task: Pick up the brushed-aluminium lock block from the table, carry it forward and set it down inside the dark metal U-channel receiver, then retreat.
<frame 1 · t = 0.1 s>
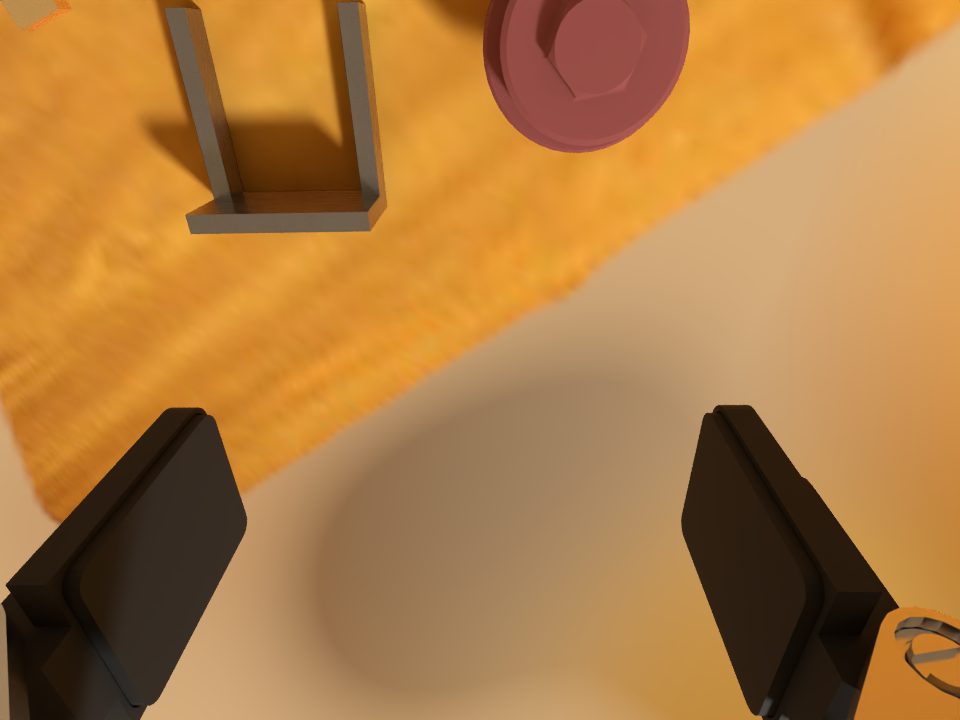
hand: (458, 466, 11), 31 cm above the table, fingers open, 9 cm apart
mechanical component: (566, 46, 34), on the table
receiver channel: (290, 106, 36), on the table
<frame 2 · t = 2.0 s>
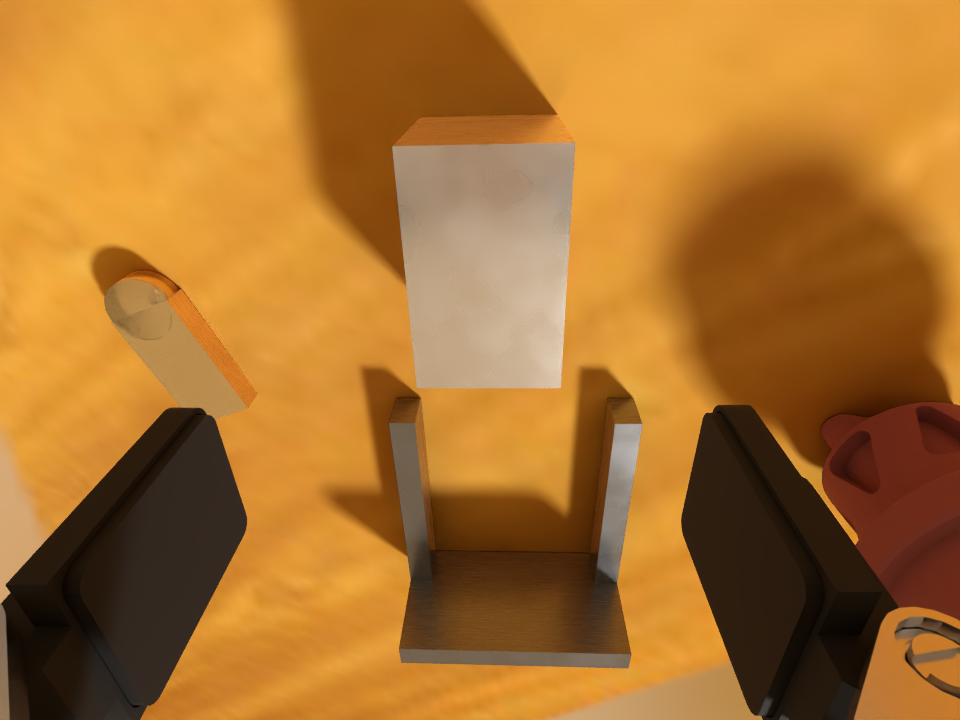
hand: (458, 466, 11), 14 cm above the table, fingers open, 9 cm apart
mechanical component: (879, 437, 27), on the table
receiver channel: (513, 482, 29), on the table
aluminium lock block: (490, 222, 22), on the table
brass key tag: (195, 353, 26), on the table
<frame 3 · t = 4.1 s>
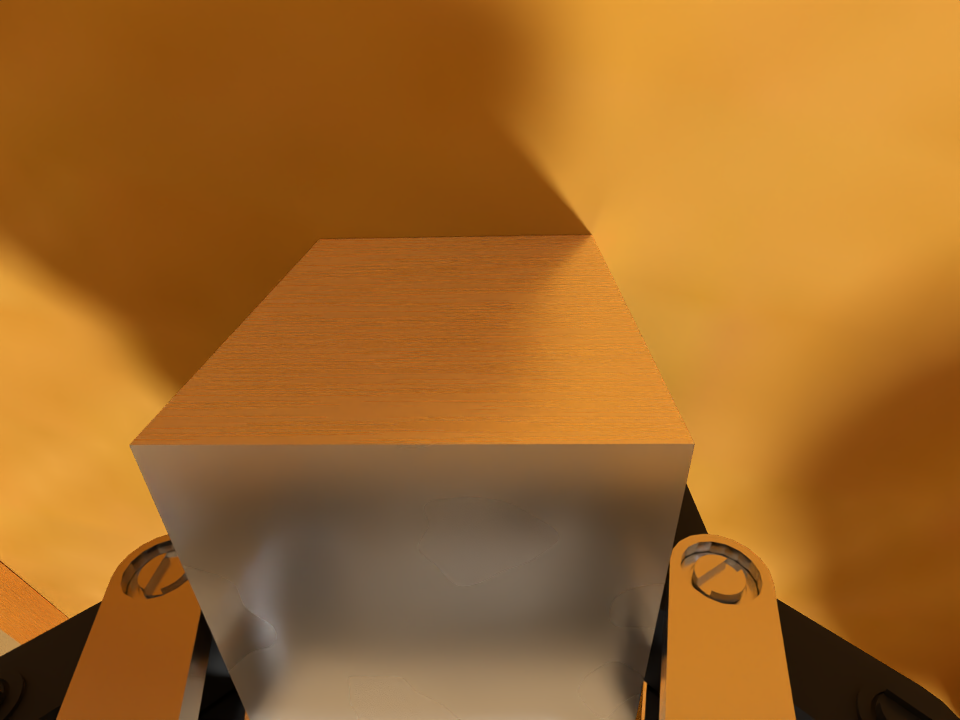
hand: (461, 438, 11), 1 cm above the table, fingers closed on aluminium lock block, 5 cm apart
aluminium lock block: (463, 415, 12), on the table, touching gripper
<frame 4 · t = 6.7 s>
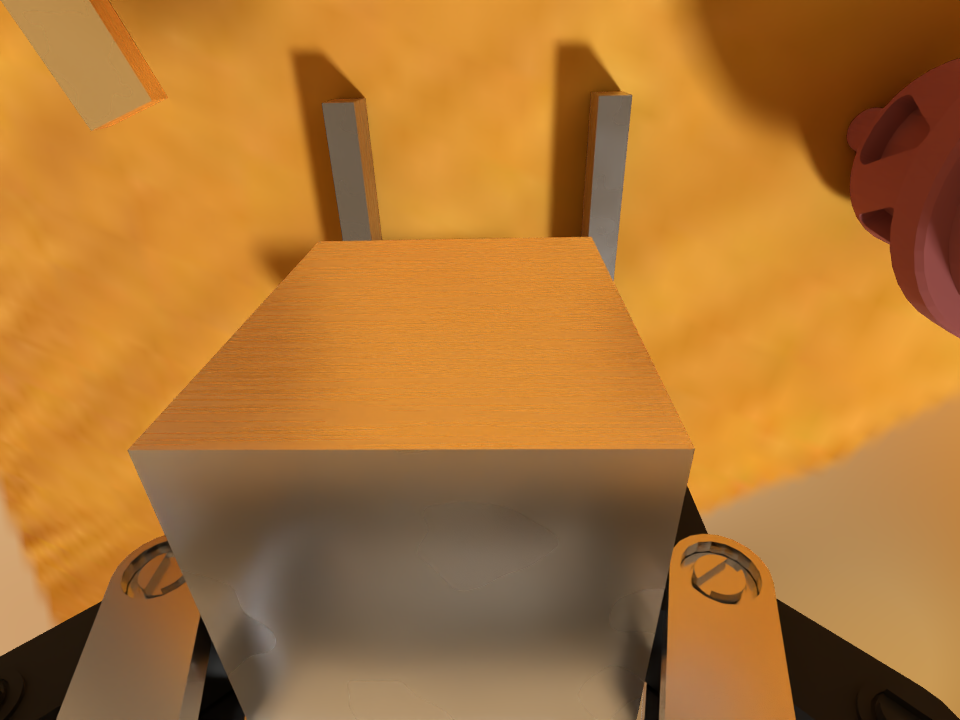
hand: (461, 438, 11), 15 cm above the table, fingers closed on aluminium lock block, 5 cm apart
mechanical component: (915, 150, 23), on the table
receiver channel: (480, 230, 25), on the table
aluminium lock block: (462, 417, 12), point 14 cm above the table, touching gripper
brass key tag: (87, 33, 21), on the table
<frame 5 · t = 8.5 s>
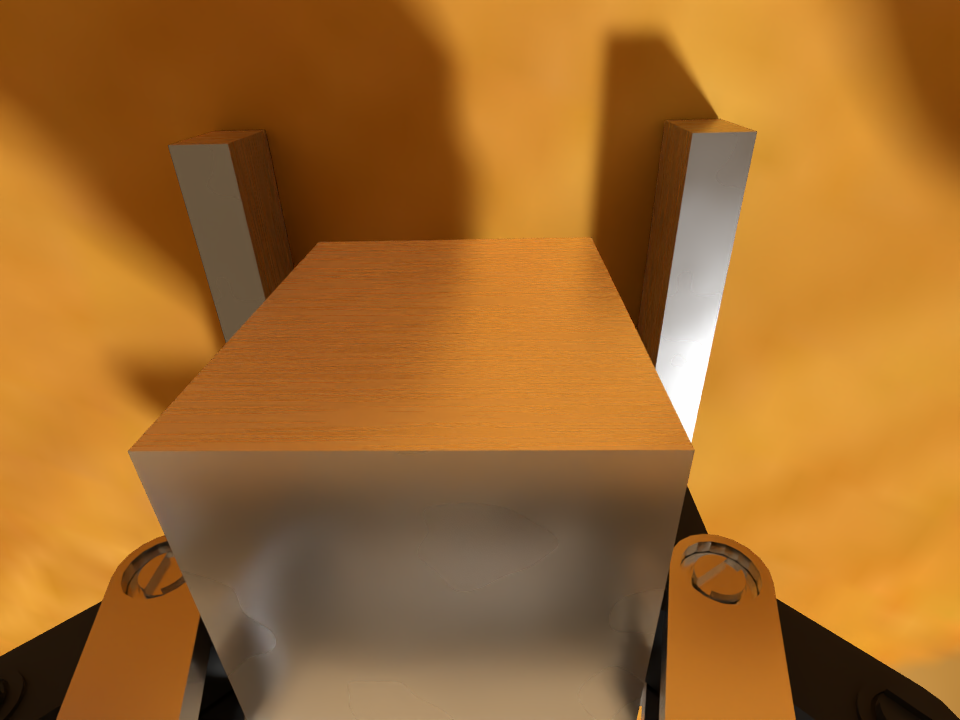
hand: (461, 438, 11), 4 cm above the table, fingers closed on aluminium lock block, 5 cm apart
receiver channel: (470, 341, 15), on the table
aluminium lock block: (462, 417, 12), point 4 cm above the table, touching gripper
when the fingers open (3 cm above the table, at t = 9.7 s): aluminium lock block drops 2 cm, on the table.
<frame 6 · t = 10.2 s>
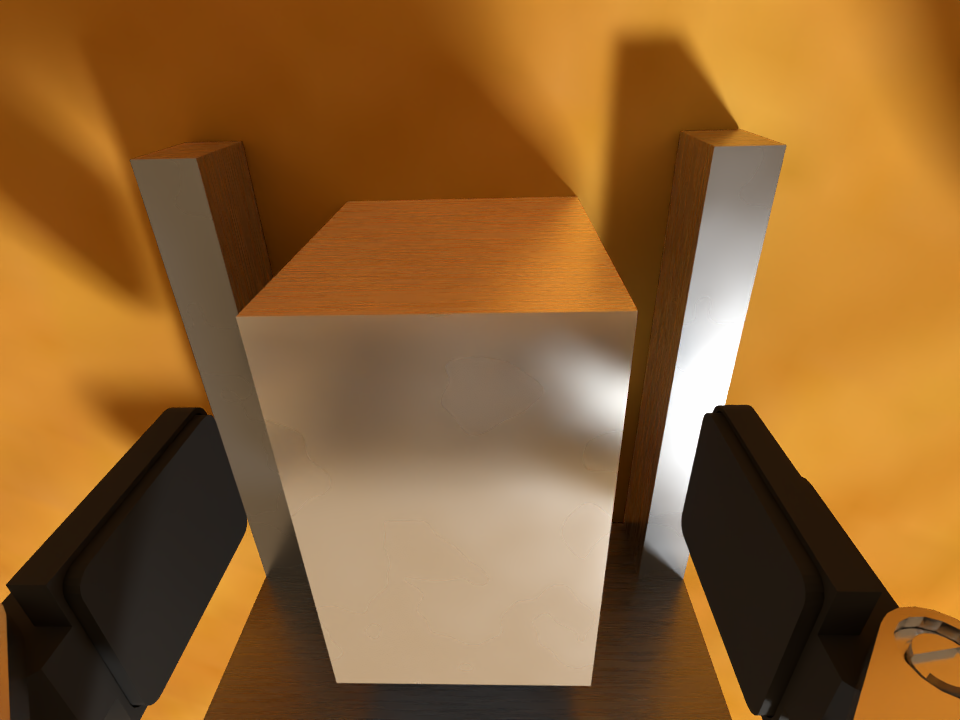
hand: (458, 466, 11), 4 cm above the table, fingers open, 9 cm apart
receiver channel: (467, 367, 14), on the table
aluminium lock block: (468, 356, 14), on the table
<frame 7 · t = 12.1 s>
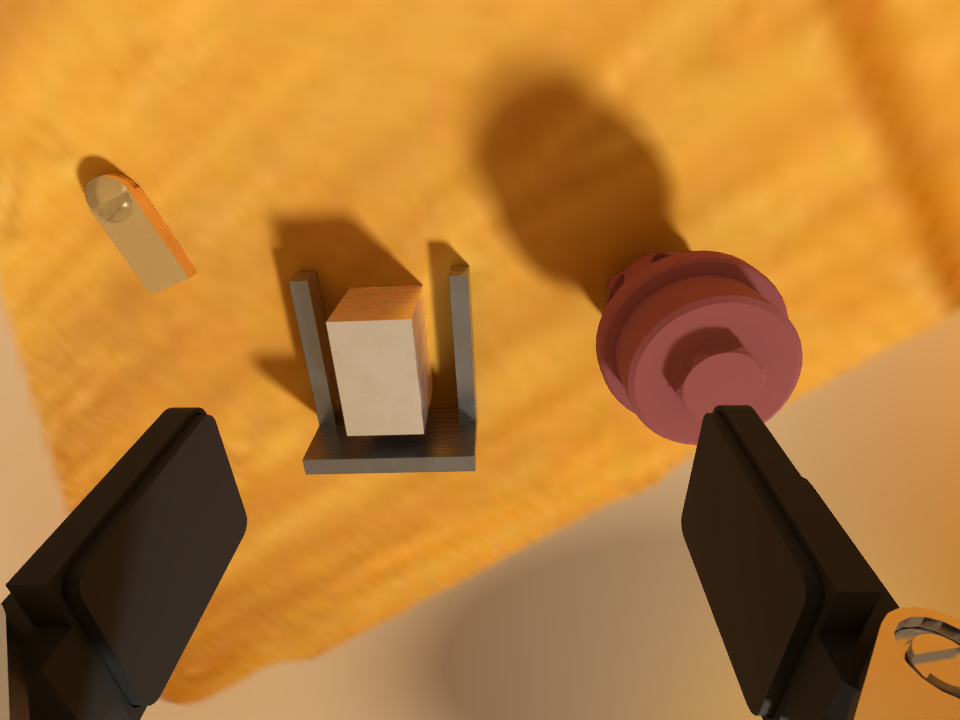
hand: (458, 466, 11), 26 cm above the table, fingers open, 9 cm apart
mechanical component: (653, 294, 37), on the table
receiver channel: (393, 343, 39), on the table
aluminium lock block: (393, 339, 39), on the table
brass key tag: (151, 239, 36), on the table
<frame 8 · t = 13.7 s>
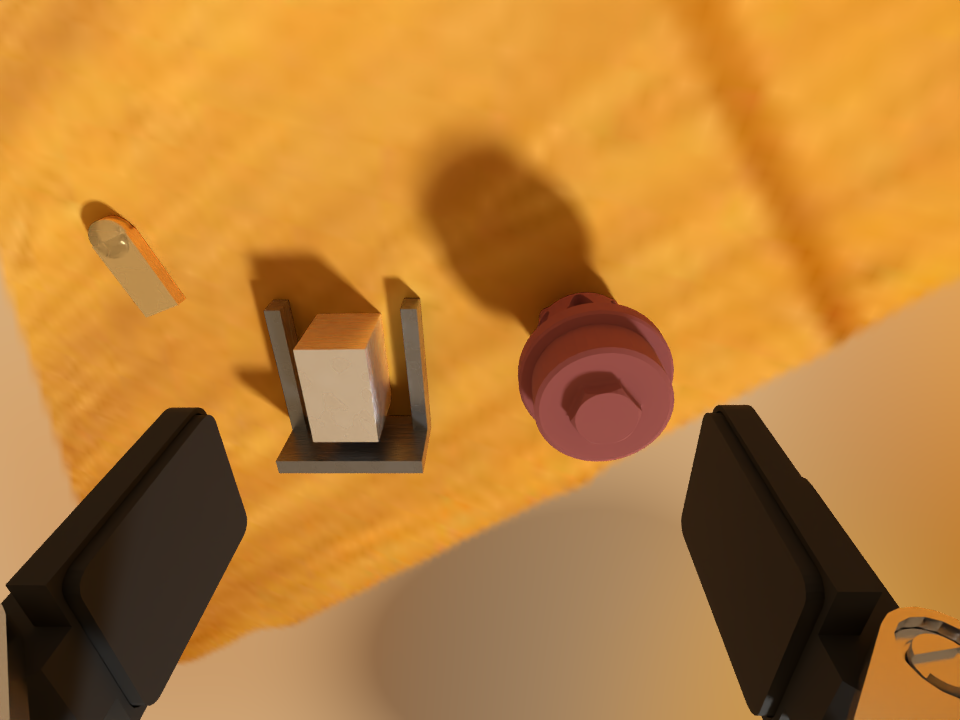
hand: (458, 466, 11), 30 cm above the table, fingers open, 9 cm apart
mechanical component: (579, 324, 43), on the table
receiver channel: (356, 361, 45), on the table
aluminium lock block: (356, 357, 45), on the table
brass key tag: (145, 270, 41), on the table
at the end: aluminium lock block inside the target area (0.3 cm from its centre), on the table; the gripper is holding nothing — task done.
